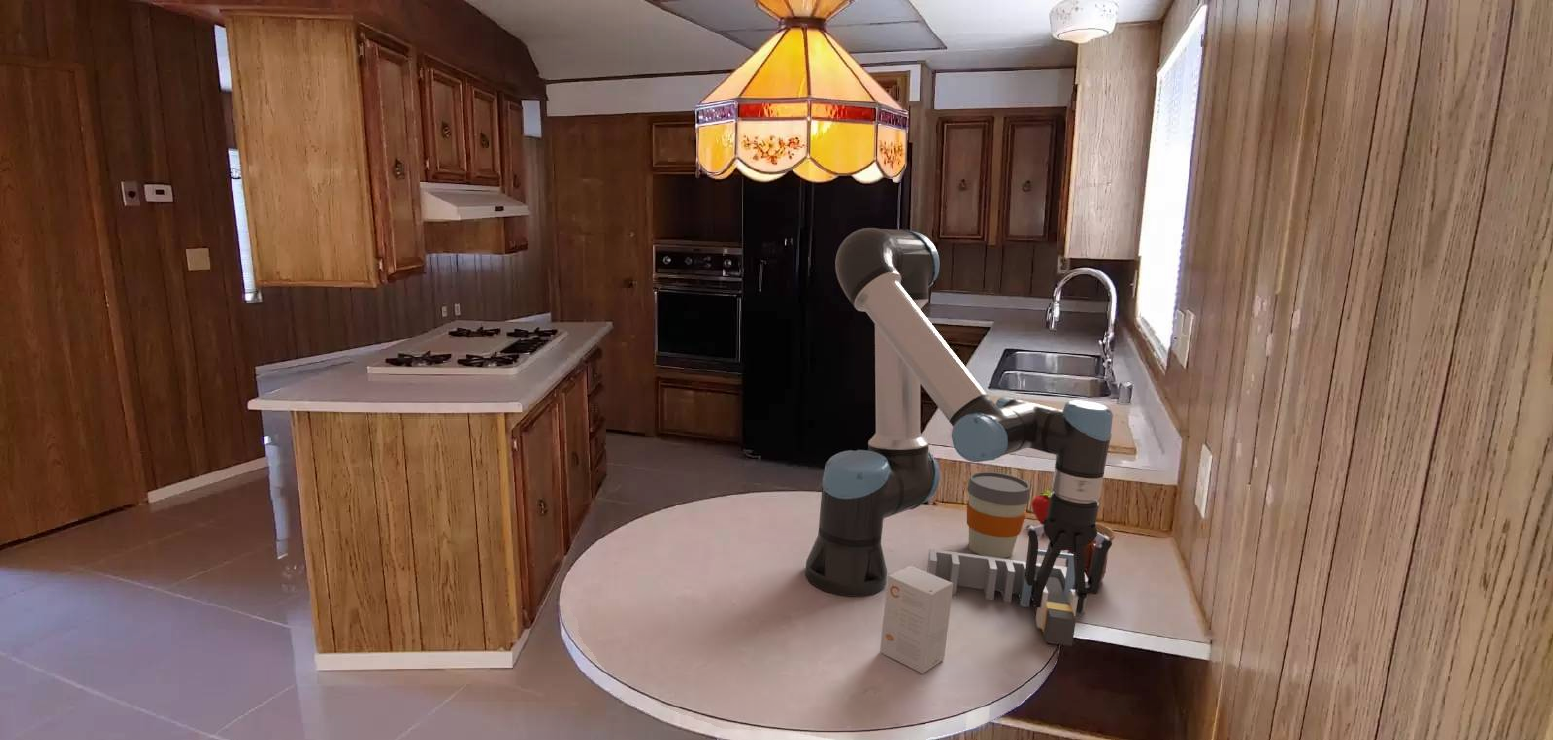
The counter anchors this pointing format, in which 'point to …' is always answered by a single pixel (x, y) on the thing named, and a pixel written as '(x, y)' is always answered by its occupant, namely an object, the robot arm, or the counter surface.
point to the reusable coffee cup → (995, 512)
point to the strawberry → (1041, 506)
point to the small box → (916, 618)
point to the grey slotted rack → (986, 573)
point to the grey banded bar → (1057, 615)
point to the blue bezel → (1068, 580)
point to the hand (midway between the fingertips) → (1053, 626)
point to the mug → (1090, 550)
